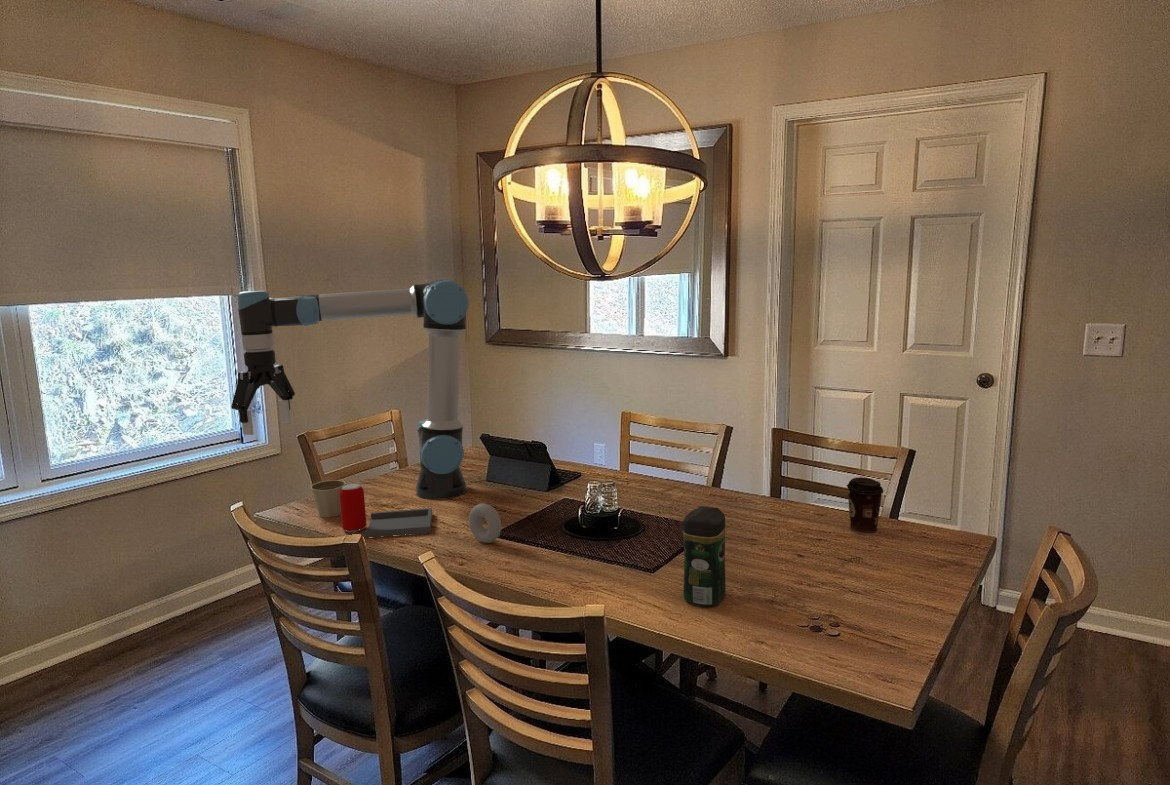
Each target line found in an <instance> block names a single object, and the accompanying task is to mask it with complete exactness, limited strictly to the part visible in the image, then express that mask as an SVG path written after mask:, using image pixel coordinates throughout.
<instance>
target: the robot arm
mask: <svg viewBox="0 0 1170 785" xmlns="http://www.w3.org/2000/svg"><path fill="white" fill-rule="evenodd" d="M469 305H470V304H469V297H468V294H467V291H466V290H465V289H464V288H463V287H462V286H461V285H460V284H459V283H458V282H456V281H454V280H450V279H449V280H448V279H438V280H435V281H431V282H426V283H420V284H413V285H412V286H411V287H409V288H395V289H383V290H380V289H379V290H368V291H365V290H364V291H363V290H362V291H351V292H333V293H321V294H297V295H295V296H290V297H289V296H288V297H270V296H269V292H268V291H267V290H254V291H253V290H252V291H251V290H248V291H246V290H245V291H241V292H239V293H238V294H237V306H238V309H237V312H238V318H239V319H238V320H239V325H240V332H241V342H242V349H243V350H244V352H243V360H244V365H245V366H246V367H247V371H238V372H237V381H236V382H237V383H236V387H235V392H234V394H233V397H232V398H233V400H232V402H231V410H235V411H238V414H239V422H240V423H241V426H242V427H241V428H242V434H243V435H246V436H253V435H254V434H255V432H254V426H253V425H254V424H253V417H252V415H253V414H252V410H251V409H249V408H250V406H251V403H252V401H253V400H254V396H255V395H256V392H257V390H258V389H259V388H261V386H266V385H268V386H269V387H270V388H271V389H272V390H273V391H274V392H275V394H276V395H277V396H278V397H279V398H280V399H278V408H279V416H280V424H285V425H286V424H291V423H292V420H291V412H290V411H291V402H290V401H291V400H293V399H294V396H296V393H295V391H294V388H293V387H292V385H291V383H290V381H289V379H288V376H287V375H286V373H285V369H284V365H283V364H276V362H277V361H276V352H275V350H274V347H275V343H274V342H275V341H274V333H273V327H293V326H295V327H296V326H304V327H306V326H311V325H312V326H313V325H318V324H319V322H323V321H337V320H338V321H339V320H350V319H351V320H354V319H366V318H367V319H368V318H381V317H384V318H385V317H396V316H411V315H412V316H414V317H415V318H417V319H418V318H419V319H420V318H423V328H422V329H423V330H425V332H426V333H427V334H428V348H427V349H428V353H427V354H428V356H427V357H428V360H427V361H428V362H427V363H428V364H427V393H426V394H427V395H426V396H427V397H426V399H427V401H426V419H421V420H420V421H419V422H418V423H417V432H418V448H419V461H420V464H419V465H420V471H419V475H418V478H417V481H416V487H415V489H416V490H415V491H416V492H415V493H416V496H417V497H419V498H421V497H422V499H426V498H428V500H429V499H430V500H442V499H443V500H444V498H445V499H451V498H454V497H458V496H461V495H463V494H464V493H466V492H467V482H466V480H465V477H464V474H463V472H462V470H461V466H460V465H461V464H462V462H463V459H464V456H465V451H464V446H463V426H464V425H463V423H462V422H461V421H460V420H459V419H458V417H459V416H458V415H459V414H458V413H459V412H458V411H459V410H458V409H459V380H460V377H459V376H460V349H461V348H460V346H461V335H462V334H463V333H464V332H466V330H467V329H466V328H467V327H466V326H467V313H468V309H469ZM465 491H466V492H465Z"/></svg>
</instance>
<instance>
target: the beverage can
mask: <svg viewBox="0 0 1170 785" xmlns="http://www.w3.org/2000/svg"><path fill="white" fill-rule="evenodd" d="M339 496H340V507H341V514H340V516H341V517H340V518H341V527H342V531H343V532H345V533H346V532H347V533H353V534H354V533H358V532H357V531H359V532H361V531H362V530H364V529H365V528H366V526H367V514H366V501H365V491H364V488H363V487H362V486H361V485H360V484H358V483H350V484H346V485H345V486H343V487H342V488H341V490H340V493H339ZM359 529H360V530H361V531H360V530H359ZM346 530H347V531H346Z"/></svg>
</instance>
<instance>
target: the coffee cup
mask: <svg viewBox="0 0 1170 785" xmlns="http://www.w3.org/2000/svg"><path fill="white" fill-rule="evenodd" d="M846 487H847V490H848V491H849V493H848V495H847V496H848V497H847V498H848V511H849V512H848V513H849V514H848V515H849V520H850V526H849V527H850V530H851V531H852V532H853V533H856V534H859V535H863V536H864V535H865V536H872V535H875V534H877V533H878V526H879V525H878V524H879V523H878V522H879V518H880V511H881V510H880V509H881V503H882V495H883V493H884V488H883V487H882V484H881V482H880V481H877V480H875V479H872V478H870V477H853V478H851V479H850V480H849V482H848V483H847V484H846Z"/></svg>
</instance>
